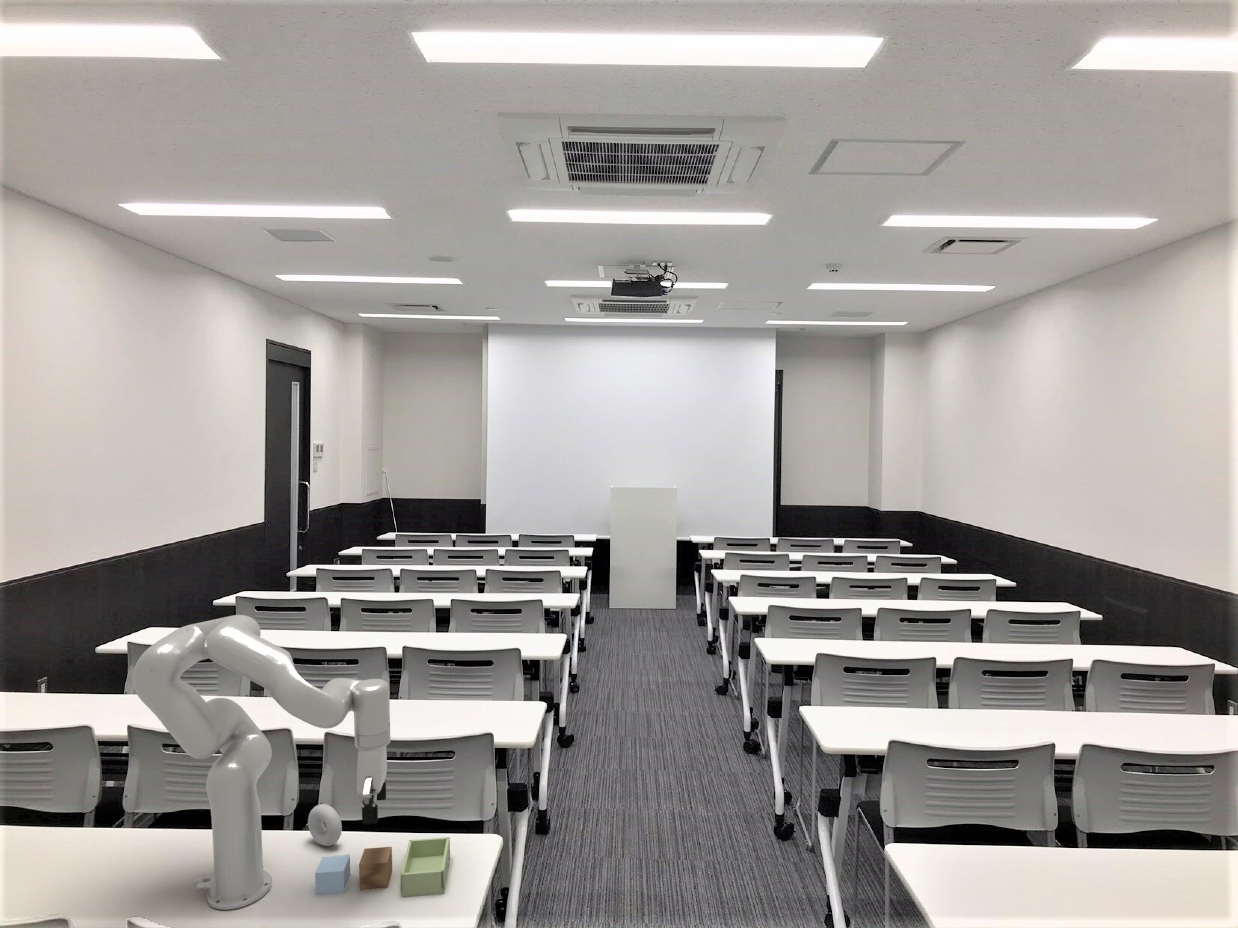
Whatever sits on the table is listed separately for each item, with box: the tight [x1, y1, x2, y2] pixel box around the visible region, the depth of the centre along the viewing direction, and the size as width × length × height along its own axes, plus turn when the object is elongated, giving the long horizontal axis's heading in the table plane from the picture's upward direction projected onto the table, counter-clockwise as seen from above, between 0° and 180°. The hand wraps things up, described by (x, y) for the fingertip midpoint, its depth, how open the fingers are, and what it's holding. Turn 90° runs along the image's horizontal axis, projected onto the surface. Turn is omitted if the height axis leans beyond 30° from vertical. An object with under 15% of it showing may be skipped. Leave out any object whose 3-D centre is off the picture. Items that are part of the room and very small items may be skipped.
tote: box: [399, 836, 451, 898], centre depth 169 cm, size 9×13×5 cm
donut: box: [307, 803, 343, 847], centre depth 181 cm, size 10×4×10 cm, turn 62°
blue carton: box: [314, 854, 352, 895], centre depth 166 cm, size 6×6×5 cm
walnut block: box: [358, 846, 393, 891], centre depth 167 cm, size 6×6×6 cm
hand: (374, 810), depth 166 cm, fingers open, 9 cm apart
